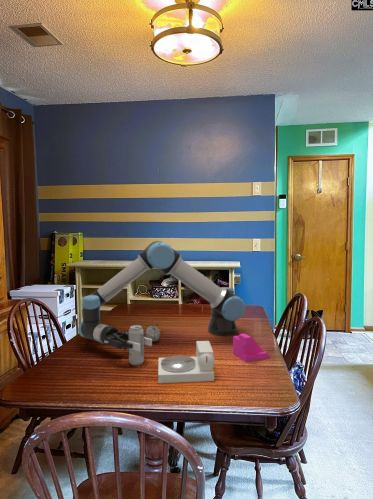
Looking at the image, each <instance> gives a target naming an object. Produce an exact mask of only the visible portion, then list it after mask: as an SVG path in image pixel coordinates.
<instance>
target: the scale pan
mask: <svg viewBox="0 0 373 499" xmlns="http://www.w3.org/2000/svg"><path fill="white" fill-rule="evenodd" d="M191 357H192V356H187V355H171V356H167V357H163V358H164V359H163V360H162V361H161V367H162V368H163V369H164V370H166V371H169V372H186V371H190V370H192V369H193V368H194V367H195V360H194V359H193V358H191Z"/></svg>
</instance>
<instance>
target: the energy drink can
mask: <svg viewBox="0 0 373 499" xmlns="http://www.w3.org/2000/svg"><path fill="white" fill-rule="evenodd" d="M128 331H129V341H131V342H135V343H139V344H140V351H137V350H133V349H130V348H128V362H129V363H130V365H132V366H141V365H143V362H145V344H144V337H145V335H144V334H145V333H144V328H143V326H142V325H140V324H139V325H138V324H135V325H134V324H133V325H131V326H130V327H129V329H128Z"/></svg>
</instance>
